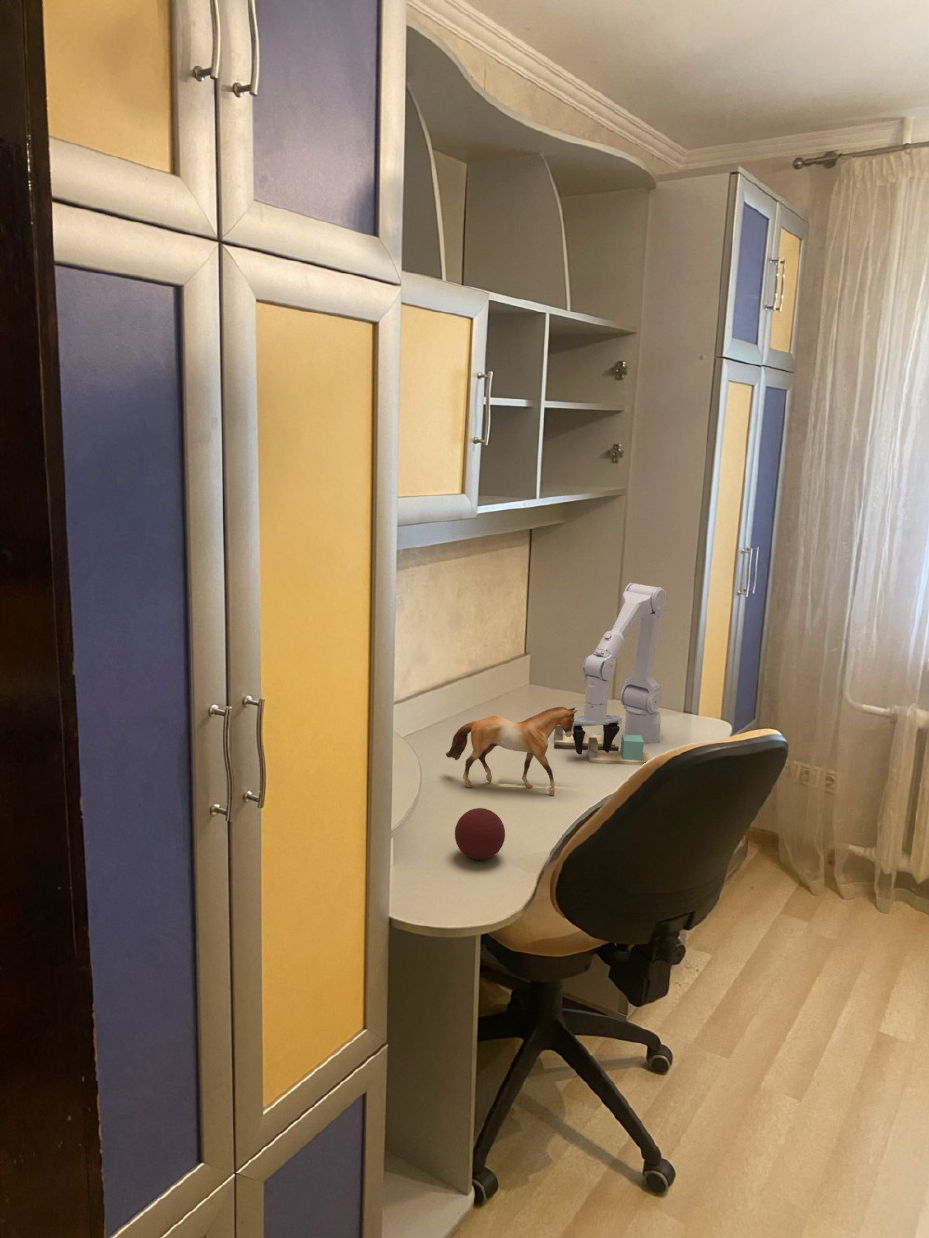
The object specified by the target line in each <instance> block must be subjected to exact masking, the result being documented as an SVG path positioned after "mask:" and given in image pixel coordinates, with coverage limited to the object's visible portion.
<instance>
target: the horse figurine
mask: <svg viewBox="0 0 929 1238" xmlns="http://www.w3.org/2000/svg"><path fill="white" fill-rule="evenodd" d="M577 712H578V709H576V707H571V708H566V707H565V706H557V707H553V708H548V709H546V710H543V711H541V712H540V713H538V714H535V715H533V716H532V717H531V716H530V717H528V718H526V719H525V720H523V721H511V720H508V719H506V718H503V717H501V716H498V715H491V716H488V717H484V718H481V719H479V720H476V721H471V722H468V723H466V724H464V725H462V726H460V728H459V729H458V730H457V731H456V733H455V734H454V735H453V737H452V740H451V741H452V743H451V747H450V749H449V750H448V751H446V752H445V756H446V757H447V758H449V759H451V758H452V759H454V760H455V761H458V760H459V759H460V758H461V756H462V754H463V753H464V751H465V750H466V747H467V744H468V738H469V737H468V736H469V734H470V742H471V746H472V747H471V748H472V749H473V750H472V753H471V754H470V755H469V756H468V758H466V760H465V766H464V767H465V768H464V772H463V775H462V779H463V780H464V783H463V784H464V786H465V787H467V788H472V787H473V784H472V781H471V780H470V778H469V774H470V773H469V772H470V769H471V767H472V766H473V764H474V763H475V761H477V760H479V762H480V763H481V765H482V767H483V768H484V772H485V773H486V775H485V779H486V781H487V782H488V783H492V780H493V779H492V778H493V777H492V775H493V774H492V773H491V772H492V771H491V769H490V767H489V765H488V763H487V761H486V756H487V755H488V754H489V753H490V752H492V751H493V750H494V749H495V748H496V747H497V746H499V747H501V748H503V749H505V750H510V751H515V752H524V753H526V756H525V759H524V760H525V761H524V764H523V765H524V766H523V768H524V769H523V773H522V777H521V780H522V782H524V787H525V789H529V790H530V789H531V790H532V789H533V785H532V783H531V782H530V781H529V780H528V778H527V776H528V772H529V769H530V766H531V762H532V760H533V758H535V759H536V760H537V761H538V762H539V764H540V765H541V766H542V768H543V769H544V770H545V771H546V773H547V776H548V778H549V785H550V787H549V788H548V793H549V794H550V795H551V796H555V787H556V786H555V785H556V783H555V778H554V774H553V769H552V768H551V766H550V764H549V761H548V757H547V756H546V752H547V750H548V747H549V741H548V740H549V738H550V737H551V735H552V734H553V732H554V731H555V728H556V726H557V725H560V726H561V727H562V728H563V732H564V734H565V735H566V736H567V737H571V736H572V735H573V722H574V718H575V713H577Z"/></svg>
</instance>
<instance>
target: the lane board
mask: <svg viewBox="0 0 929 1238" xmlns="http://www.w3.org/2000/svg"><path fill="white" fill-rule="evenodd" d="M553 749H555V750H572V751H573V750H574V751H576V747H575V744H559V743H555V742H554V743H553ZM587 750H588V745H583V751H587ZM598 750H602V751H604V750H603V746H602V745H598ZM609 751H620V747H619V746H618V745H615V746H611V747H610V750H609Z"/></svg>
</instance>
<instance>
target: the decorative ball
mask: <svg viewBox="0 0 929 1238" xmlns="http://www.w3.org/2000/svg"><path fill="white" fill-rule="evenodd" d="M505 838H506V829H505V825H504V823H503V821H502V818H500V817H499V815H498V814H496V812H494V811H492V810H491V809H488V808H485V807H484V808H483V807H477V808H472V809H469V810H468V811H466V812H464V813H463V814H462V815H461V816H460V818H459V819H458V821H456V825H455V828H454V839H455V843H456V846H457V848H458V849H459V850H460V852H461V853H462V854H463V855H464V856H466V857H468V858H470V859H472V860H476V861H477V860H478V861H479V860H481V861H482V860H488V859H490V858H492V857H494V856H495V855H497V854H498V853H499V852H500V850H501V849H502V847H503V845H504V843H505V841H506V840H505Z"/></svg>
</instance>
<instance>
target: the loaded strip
mask: <svg viewBox="0 0 929 1238" xmlns="http://www.w3.org/2000/svg"><path fill="white" fill-rule="evenodd" d="M586 754H587V757H588V762H589V763H594V764H595V763H597V764H614V765H615V764H616V765H618V764H619V765H635V766H637V765H638V766H640V765H641V766H644V765H643V764H644V763H646V762H647V761H648V760H650V759H652V758H651V754H650V752H644V751H643V760H623V759H622V756H621V753H620V750H619V751H609V752H605V751H602V750H598V741H597V738H595V737H589V741H588V750H586Z"/></svg>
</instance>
